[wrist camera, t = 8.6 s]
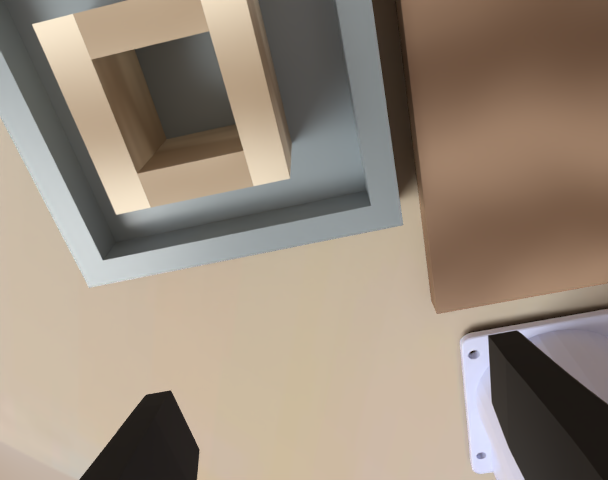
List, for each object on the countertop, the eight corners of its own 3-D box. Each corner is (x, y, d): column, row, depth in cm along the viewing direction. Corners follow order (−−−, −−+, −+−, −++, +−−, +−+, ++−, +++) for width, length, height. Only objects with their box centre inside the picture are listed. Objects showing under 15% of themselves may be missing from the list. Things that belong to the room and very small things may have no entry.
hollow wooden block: (291, 143, 17) (290, 178, 14) (148, 174, 18) (116, 214, 15) (252, -26, 15) (239, -29, 12) (86, 15, 15) (32, 24, 12)
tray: (393, 202, 19) (403, 225, 17) (107, 260, 20) (88, 287, 18) (336, -185, 13) (342, -210, 12) (-54, -73, 15) (-103, -81, 13)
